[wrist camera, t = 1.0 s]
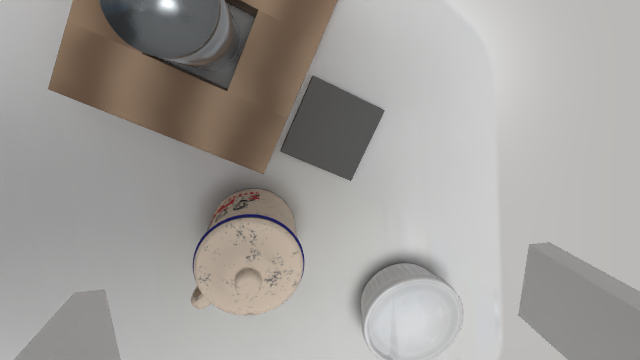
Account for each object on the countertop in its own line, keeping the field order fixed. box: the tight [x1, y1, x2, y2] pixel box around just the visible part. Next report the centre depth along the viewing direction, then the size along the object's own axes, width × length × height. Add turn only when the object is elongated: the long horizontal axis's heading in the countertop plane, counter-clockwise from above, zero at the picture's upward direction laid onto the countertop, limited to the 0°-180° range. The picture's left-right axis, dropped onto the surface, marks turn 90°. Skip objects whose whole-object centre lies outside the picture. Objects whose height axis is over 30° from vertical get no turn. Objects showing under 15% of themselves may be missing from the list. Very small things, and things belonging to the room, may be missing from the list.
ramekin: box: [361, 263, 463, 360], centre depth 39 cm, size 11×11×5 cm
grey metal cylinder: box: [99, 0, 240, 70], centre depth 24 cm, size 6×6×15 cm
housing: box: [48, 0, 337, 174], centre depth 29 cm, size 18×18×4 cm
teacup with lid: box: [191, 189, 304, 315], centre depth 31 cm, size 12×9×12 cm
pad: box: [281, 76, 385, 181], centre depth 35 cm, size 8×8×1 cm
